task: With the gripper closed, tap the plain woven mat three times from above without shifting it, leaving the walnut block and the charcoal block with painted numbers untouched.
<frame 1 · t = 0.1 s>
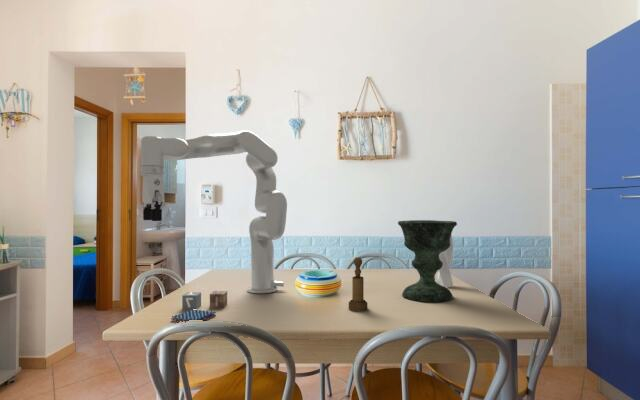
hand: (152, 220, 133), 31 cm above the table, tool pointing down, fingers open, 9 cm apart
goblet: (427, 297, 150), on the table
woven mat: (193, 320, 122), on the table
skyscraper: (443, 287, 170), on the table
brown tall piece: (358, 309, 133), on the table
walnut number block: (218, 306, 137), on the table
charcoal number block: (191, 307, 135), on the table
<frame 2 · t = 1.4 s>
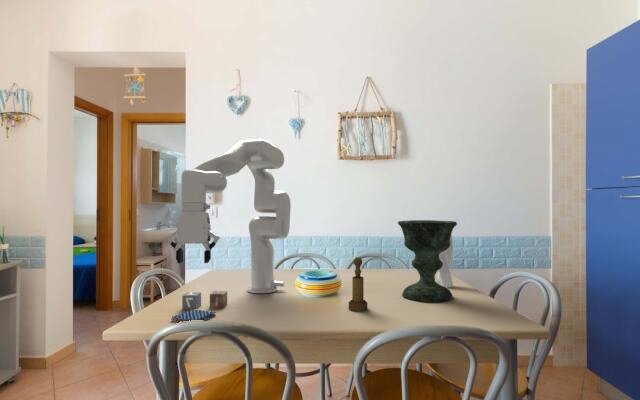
hand: (193, 262, 122), 18 cm above the table, tool pointing down, fingers open, 8 cm apart
nothing on the table moved.
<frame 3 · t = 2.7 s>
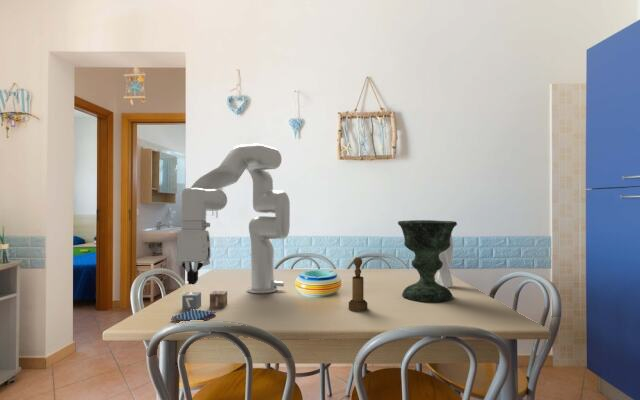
hand: (192, 283, 122), 11 cm above the table, tool pointing down, fingers closed
nothing on the table moved.
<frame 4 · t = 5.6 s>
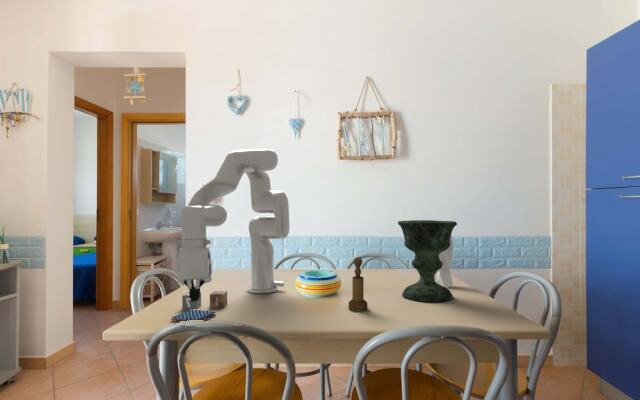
hand: (194, 300, 123), 6 cm above the table, tool pointing down, fingers closed
nothing on the table moved.
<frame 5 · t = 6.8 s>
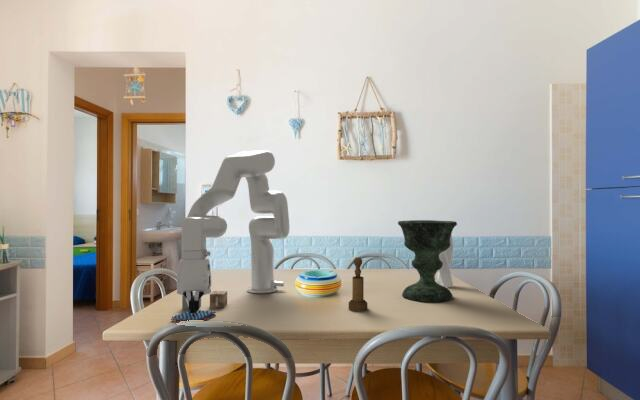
hand: (194, 312, 122), 2 cm above the table, tool pointing down, fingers closed
nothing on the table moved.
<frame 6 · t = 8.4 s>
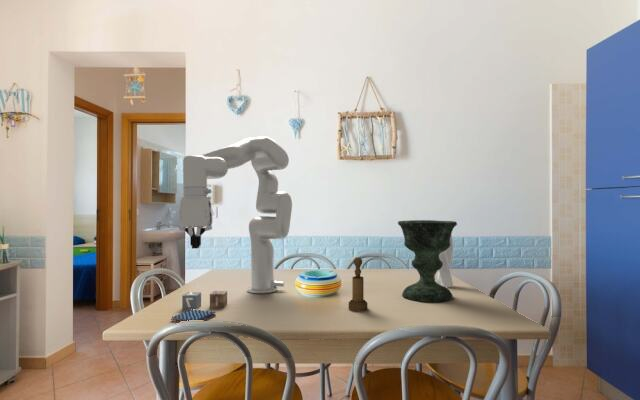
hand: (195, 247, 126), 22 cm above the table, tool pointing down, fingers closed
nothing on the table moved.
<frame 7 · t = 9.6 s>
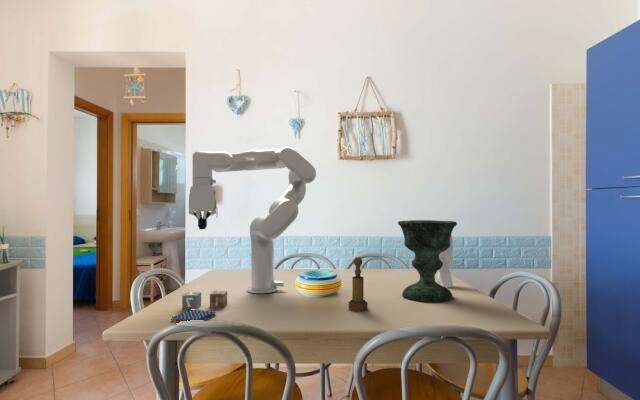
hand: (202, 229, 150), 27 cm above the table, tool pointing down, fingers closed
nothing on the table moved.
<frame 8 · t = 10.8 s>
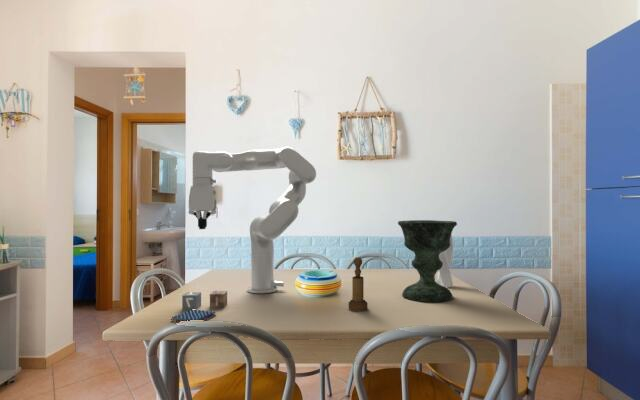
hand: (202, 228, 150), 27 cm above the table, tool pointing down, fingers closed
nothing on the table moved.
at the end: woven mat moved 0.7 cm from its start; walnut number block moved 0.1 cm from its start; charcoal number block moved 0.1 cm from its start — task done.
